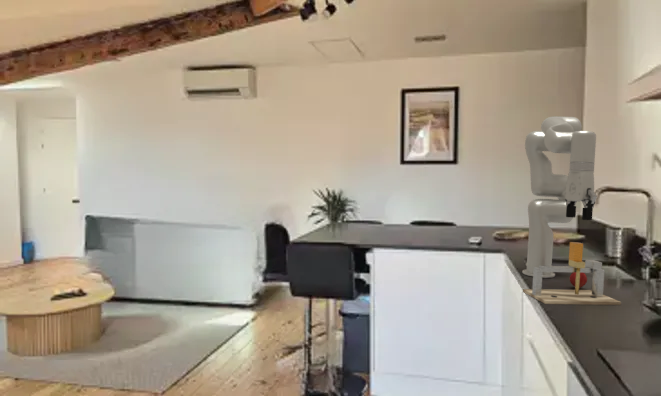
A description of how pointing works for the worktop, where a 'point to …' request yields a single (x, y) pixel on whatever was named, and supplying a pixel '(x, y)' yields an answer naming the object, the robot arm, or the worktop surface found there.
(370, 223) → the worktop surface
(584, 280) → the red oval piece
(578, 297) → the bolt plate
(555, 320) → the worktop surface
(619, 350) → the worktop surface
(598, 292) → the grey arch frame
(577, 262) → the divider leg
